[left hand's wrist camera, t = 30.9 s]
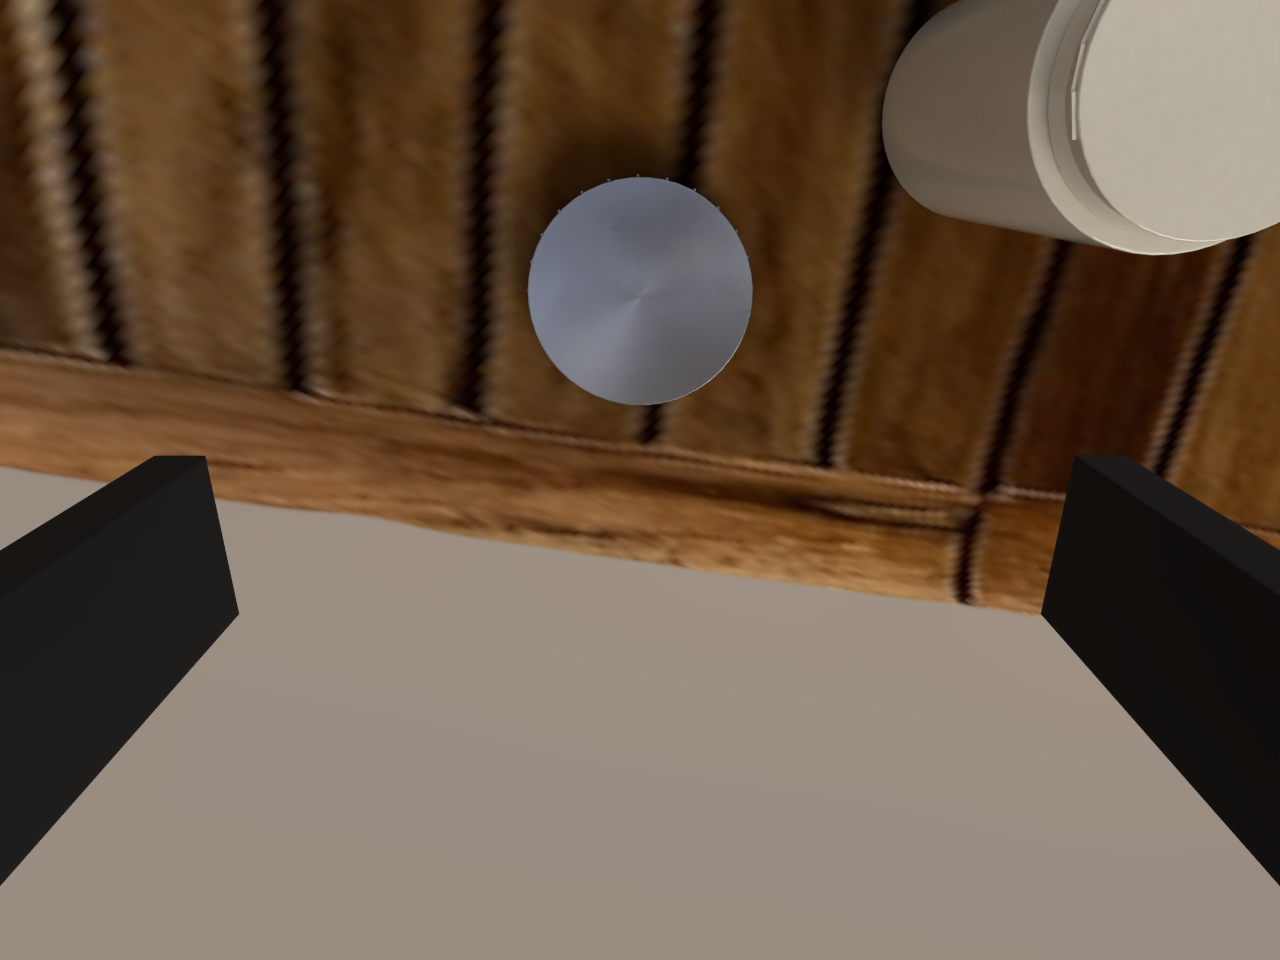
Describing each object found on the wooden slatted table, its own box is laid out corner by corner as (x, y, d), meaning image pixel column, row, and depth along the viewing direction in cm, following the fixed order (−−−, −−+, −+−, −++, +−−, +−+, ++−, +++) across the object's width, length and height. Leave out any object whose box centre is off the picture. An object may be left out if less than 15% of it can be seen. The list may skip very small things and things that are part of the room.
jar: (1091, -37, 32) (1463, -196, 18) (1096, 193, 35) (1412, 218, 21) (869, 20, 33) (1050, -88, 18) (893, 240, 36) (1063, 296, 22)
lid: (593, 429, 39) (591, 441, 38) (490, 239, 36) (483, 243, 34) (782, 339, 38) (789, 348, 36) (692, 131, 34) (695, 130, 33)
